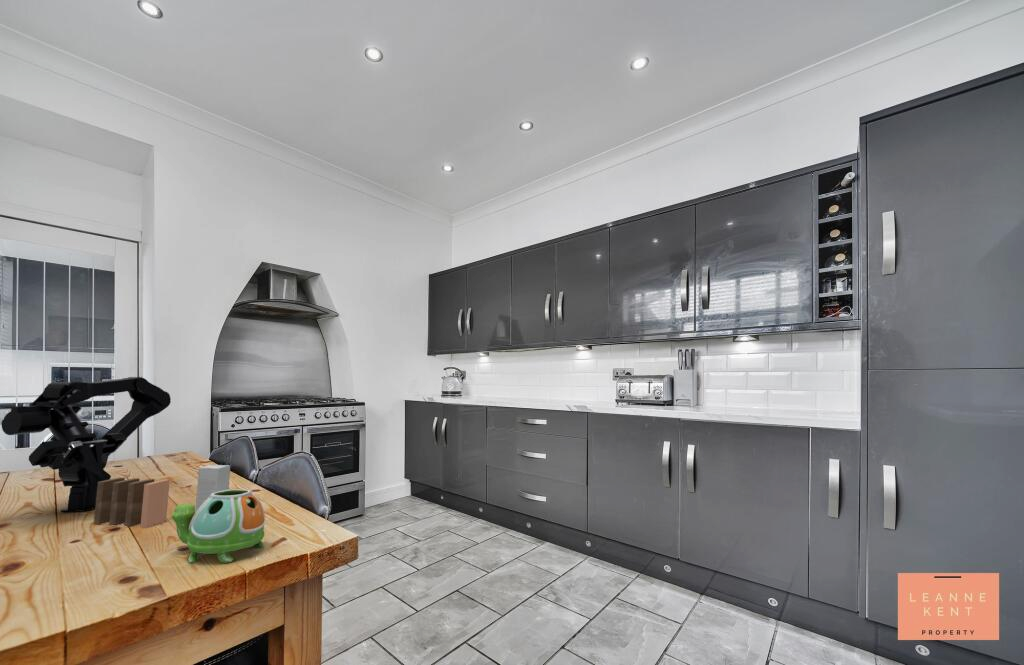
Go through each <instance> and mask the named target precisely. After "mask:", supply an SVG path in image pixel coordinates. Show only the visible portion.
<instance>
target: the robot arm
mask: <svg viewBox="0 0 1024 665" xmlns="http://www.w3.org/2000/svg"><path fill="white" fill-rule="evenodd" d="M125 392H128V395H129V398H130V399H132V400H133V401H132V405H131V408H130V410H129V411H128V412H127V413H126V414H125V415H124V416H123V417H122V418H121V419H120V420H118V422H116V423H115V424H114V425H113V426H112V427H111V428H110V429H108V431H107V432H105V433H104V434H103V435H102V436H101V437H100V438H98V440H95V438H96V437H97V436H98V435H97V434H96V433H95V432H91V433H90V432H89V430H88V429H87V428H86V427H88V425H89V423H88V421H81V419H80V418H79V416H78V415H77V414H78V412H80V411H81V409H82V407H81V406H78V405H75V404H78V403H81V402H85V401H88V400H89V399H91V398H94V397H98V396H105V395H112V394H118V393H125ZM170 405H171V395H170V393H169V392H168V391H165V390H164V389H162V388H161V387H159V386H157V385H155V384H153V383H152V382H149V380H147V379H146V378H144V377H142V376H129V377H126V378H120V379H119V378H118V379H110V380H101V381H92V382H84V381H82V382H81V381H79V382H78V381H54V382H50V383H48V384H47V385H46V387H45V388H44V389H43V390H42V393H40V394H39V395H38V396H37V397H36V398H35V400H34V401H33V402H32V403H31V404H29V406H25V405H23V406H22V405H14V406H13V405H12V406H11V407H10V408H11V409H10V411H8V413H7V414H5V416H4V417H3V419H2V420H1V429H2V432H3V433H4V434H5V435H7V436H14V435H15V436H16V435H17V436H18V435H26V434H28V435H29V434H37V433H43V432H44V431H45V430H46V429H48V430H49V431H50V432H51V434H52V437H51V438H50V440H47V441H42V442H41V443H40V444H39V445H38V446H37V447H36V448H35V449H34V450H33V451H32V452H31V453H30V454H29V455H28V461H29V462H30V464H31V466H32V467H35V466H40V468H46V467H49V468H50V469H52V470H54V471H55V470H58V477H59V479H60V480H61V481H62V485H63V486H64V487H70V488H69V495H68V498H67V500H68V501H67V507H66V508H64V509H61V510H60V513H68V512H70V513H71V512H87V511H91V510H95V507H96V497H97V488H98V482H100V481H105V480H110V479H112V478H111V477H112V476H111V474H109V472H107V471H106V470H105V468H106V466H107V463H108V459H109V457H110V455H111V454H113V453H115V452H116V451H117V450H118V449H119V448H120V447H121V446H122V445H123V444H124V443H125V442H126V441H127V440H128V437H130V436H131V435H132V434H133V433H134V432H135V431H136V430H137V429H138V428H139V427H140V426H141V425H142V424H143V423H144V422H146V420H147V419H149V418H152V417H154V416H156V415H158V414H160V413H161V412H163V411H164V410H166V409H167V408H168V407H169V406H170Z"/></svg>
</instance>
